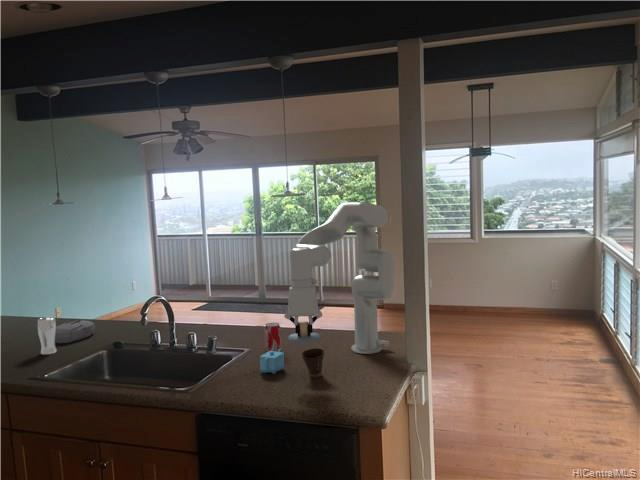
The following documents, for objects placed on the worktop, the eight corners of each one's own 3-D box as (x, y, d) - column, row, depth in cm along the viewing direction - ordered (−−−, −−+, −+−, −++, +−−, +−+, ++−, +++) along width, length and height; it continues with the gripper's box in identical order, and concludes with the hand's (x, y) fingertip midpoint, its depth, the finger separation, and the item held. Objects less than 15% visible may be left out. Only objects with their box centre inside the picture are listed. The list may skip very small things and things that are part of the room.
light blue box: (274, 364, 194) (273, 345, 194) (288, 366, 192) (287, 347, 191) (258, 374, 183) (257, 354, 183) (272, 376, 181) (272, 356, 180)
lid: (317, 333, 181) (316, 317, 180) (322, 341, 170) (322, 325, 170) (286, 335, 179) (286, 319, 179) (290, 344, 168) (289, 327, 168)
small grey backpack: (74, 332, 250) (42, 344, 231) (73, 316, 250) (41, 326, 231) (100, 334, 247) (70, 345, 227) (99, 317, 246) (68, 327, 227)
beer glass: (61, 351, 219) (59, 317, 217) (46, 356, 212) (44, 321, 211) (50, 349, 221) (48, 316, 220) (35, 354, 215) (33, 319, 214)
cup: (298, 379, 177) (297, 354, 176) (307, 371, 185) (306, 347, 184) (320, 382, 174) (319, 356, 173) (328, 374, 182) (327, 349, 181)
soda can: (279, 355, 205) (278, 326, 204) (262, 354, 207) (261, 326, 206) (283, 350, 212) (282, 322, 211) (267, 349, 214) (266, 321, 213)
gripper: (325, 280, 177) (327, 331, 178) (279, 282, 177) (281, 333, 178) (326, 284, 169) (327, 337, 171) (277, 286, 169) (279, 339, 171)
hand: (304, 334), depth 175 cm, fingers closed on lid, 3 cm apart
